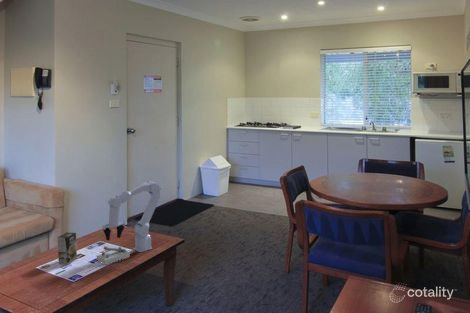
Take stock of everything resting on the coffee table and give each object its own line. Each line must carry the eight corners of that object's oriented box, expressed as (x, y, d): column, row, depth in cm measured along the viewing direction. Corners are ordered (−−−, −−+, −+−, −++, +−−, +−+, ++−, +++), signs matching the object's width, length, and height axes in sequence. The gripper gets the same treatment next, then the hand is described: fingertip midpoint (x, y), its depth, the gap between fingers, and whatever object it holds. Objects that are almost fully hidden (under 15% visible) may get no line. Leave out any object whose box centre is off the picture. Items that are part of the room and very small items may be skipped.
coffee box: (68, 264, 227) (66, 237, 224) (58, 263, 228) (56, 237, 226) (77, 258, 236) (76, 232, 233) (68, 257, 237) (66, 231, 235)
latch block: (120, 252, 245) (120, 245, 245) (129, 257, 239) (129, 249, 238) (96, 260, 234) (96, 252, 233) (105, 265, 227) (105, 257, 226)
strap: (121, 250, 241) (121, 247, 242) (123, 251, 239) (124, 249, 240) (103, 248, 232) (104, 246, 232) (106, 250, 230) (106, 247, 230)
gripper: (120, 213, 246) (119, 234, 247) (99, 217, 234) (98, 239, 236) (127, 216, 242) (126, 237, 243) (106, 220, 230) (105, 242, 232)
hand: (113, 238), depth 239 cm, fingers open, 7 cm apart
